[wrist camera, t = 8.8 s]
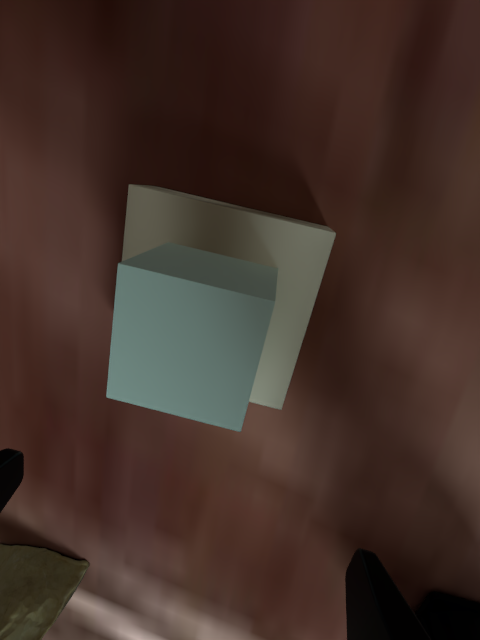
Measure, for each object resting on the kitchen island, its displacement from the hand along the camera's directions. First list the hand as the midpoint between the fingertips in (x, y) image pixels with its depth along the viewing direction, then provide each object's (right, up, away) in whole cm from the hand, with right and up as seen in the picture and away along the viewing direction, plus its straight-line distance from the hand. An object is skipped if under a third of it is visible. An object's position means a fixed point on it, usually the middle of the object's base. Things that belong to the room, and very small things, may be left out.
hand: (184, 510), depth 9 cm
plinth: (0, +7, +10) cm, 12 cm away
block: (0, +6, +7) cm, 9 cm away
